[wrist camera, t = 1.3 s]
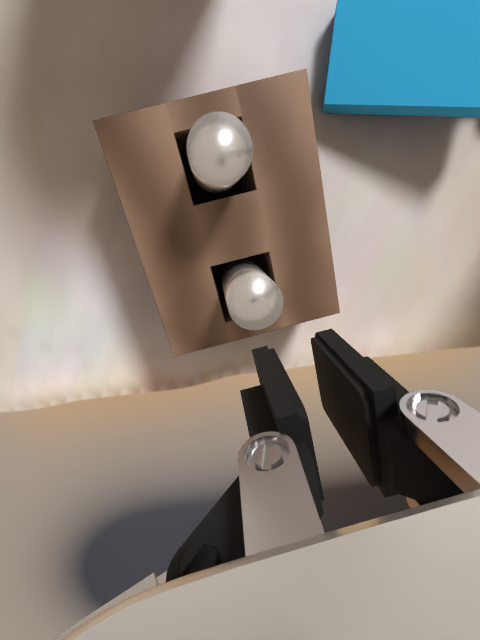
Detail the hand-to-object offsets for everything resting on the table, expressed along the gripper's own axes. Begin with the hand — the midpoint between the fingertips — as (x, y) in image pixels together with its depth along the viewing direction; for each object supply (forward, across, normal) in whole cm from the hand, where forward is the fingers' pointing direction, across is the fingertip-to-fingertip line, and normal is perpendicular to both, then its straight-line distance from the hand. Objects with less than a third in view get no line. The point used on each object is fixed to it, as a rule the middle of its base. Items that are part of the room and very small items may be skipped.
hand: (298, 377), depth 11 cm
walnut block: (+21, 0, -4) cm, 22 cm away
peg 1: (+17, 0, -9) cm, 19 cm away
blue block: (+22, -20, -12) cm, 32 cm away
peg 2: (+17, 0, 0) cm, 17 cm away
